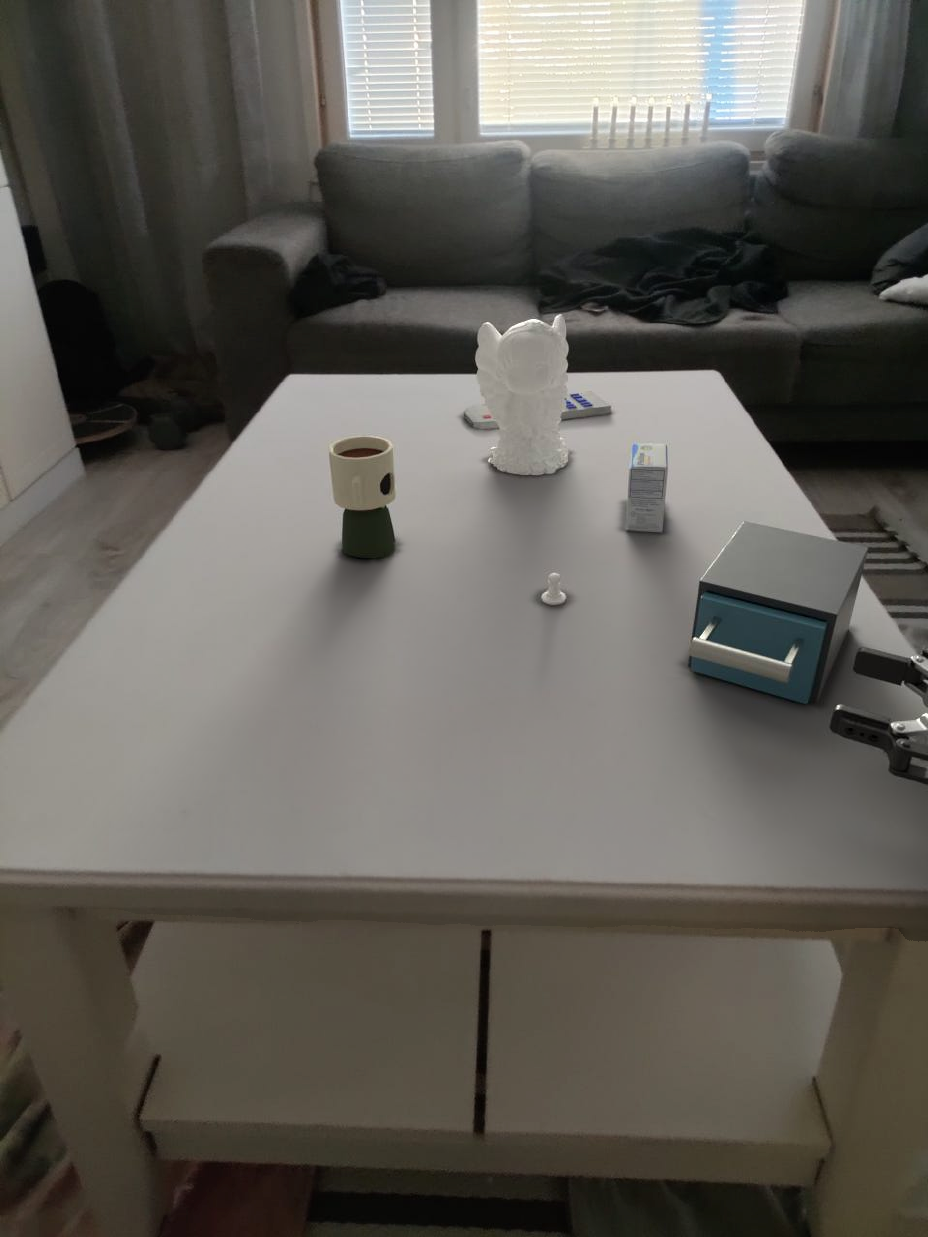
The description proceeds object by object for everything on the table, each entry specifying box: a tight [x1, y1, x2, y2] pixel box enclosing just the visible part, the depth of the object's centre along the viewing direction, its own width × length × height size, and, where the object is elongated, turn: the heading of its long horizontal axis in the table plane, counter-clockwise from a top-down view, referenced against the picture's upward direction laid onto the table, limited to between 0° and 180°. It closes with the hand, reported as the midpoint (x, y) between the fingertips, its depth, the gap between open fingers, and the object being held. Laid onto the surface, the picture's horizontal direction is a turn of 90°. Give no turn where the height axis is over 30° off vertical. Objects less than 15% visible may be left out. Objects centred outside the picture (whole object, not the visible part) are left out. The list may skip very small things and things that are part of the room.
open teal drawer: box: [688, 592, 827, 705], centre depth 79 cm, size 18×10×8 cm, turn 149°
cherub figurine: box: [474, 314, 570, 476], centre depth 121 cm, size 13×12×20 cm
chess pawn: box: [541, 572, 567, 606], centre depth 92 cm, size 3×3×4 cm
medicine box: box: [625, 442, 669, 533], centre depth 107 cm, size 8×4×9 cm, turn 170°
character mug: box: [328, 435, 397, 560], centre depth 101 cm, size 11×7×13 cm, turn 178°
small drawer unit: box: [687, 520, 869, 704], centre depth 82 cm, size 14×12×10 cm
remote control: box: [463, 390, 612, 430], centre depth 142 cm, size 8×23×2 cm, turn 107°
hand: (844, 687), depth 68 cm, fingers open, 8 cm apart
